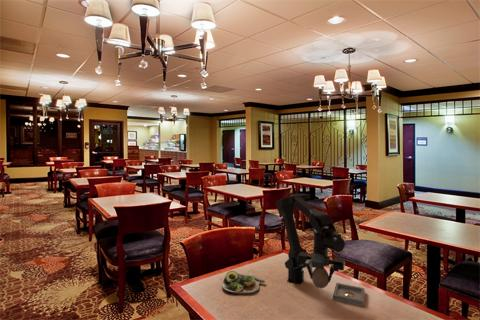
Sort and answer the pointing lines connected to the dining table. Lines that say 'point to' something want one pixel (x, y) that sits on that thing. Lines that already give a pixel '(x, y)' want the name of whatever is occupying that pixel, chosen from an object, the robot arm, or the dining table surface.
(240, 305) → the dining table surface
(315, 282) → the vase
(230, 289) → the salad plate
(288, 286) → the dining table surface
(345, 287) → the grey square tray
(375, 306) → the dining table surface
